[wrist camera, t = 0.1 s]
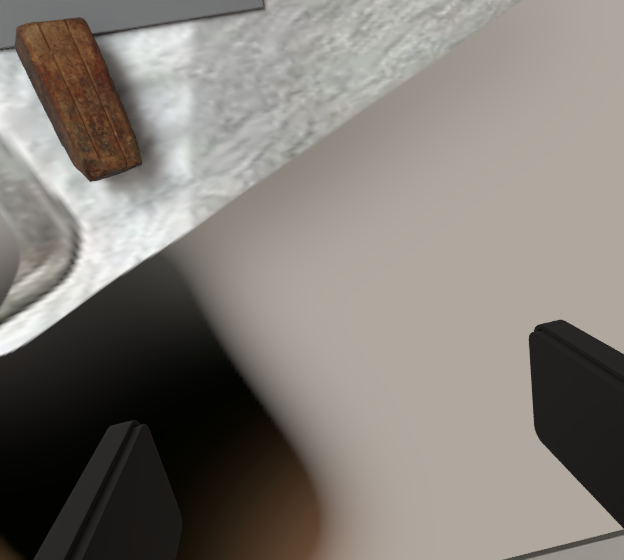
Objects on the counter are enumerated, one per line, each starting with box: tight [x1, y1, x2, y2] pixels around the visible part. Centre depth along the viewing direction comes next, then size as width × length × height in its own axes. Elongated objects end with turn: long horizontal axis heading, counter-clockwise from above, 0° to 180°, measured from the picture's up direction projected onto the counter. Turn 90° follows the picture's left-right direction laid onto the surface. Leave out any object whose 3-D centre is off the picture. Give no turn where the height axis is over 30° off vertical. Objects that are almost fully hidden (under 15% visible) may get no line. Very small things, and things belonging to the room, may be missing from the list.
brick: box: [15, 17, 142, 182], centre depth 33 cm, size 11×4×5 cm
